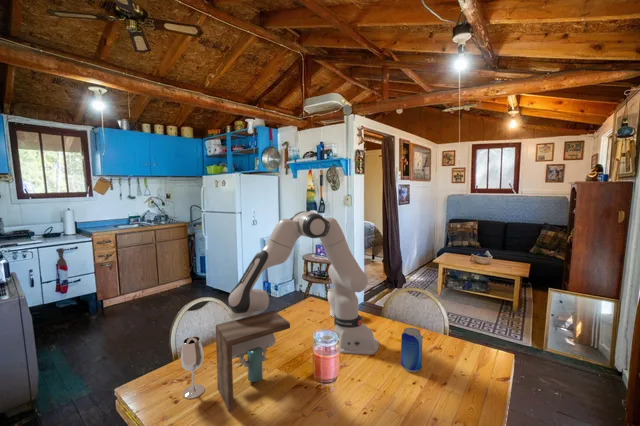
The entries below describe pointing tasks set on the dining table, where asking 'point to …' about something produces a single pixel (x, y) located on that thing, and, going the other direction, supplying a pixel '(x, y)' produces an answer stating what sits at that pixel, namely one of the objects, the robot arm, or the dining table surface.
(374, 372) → the dining table surface
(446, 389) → the dining table surface
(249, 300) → the robot arm
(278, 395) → the dining table surface
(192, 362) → the wineglass
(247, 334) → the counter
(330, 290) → the cup
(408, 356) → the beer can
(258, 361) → the teal cylinder
